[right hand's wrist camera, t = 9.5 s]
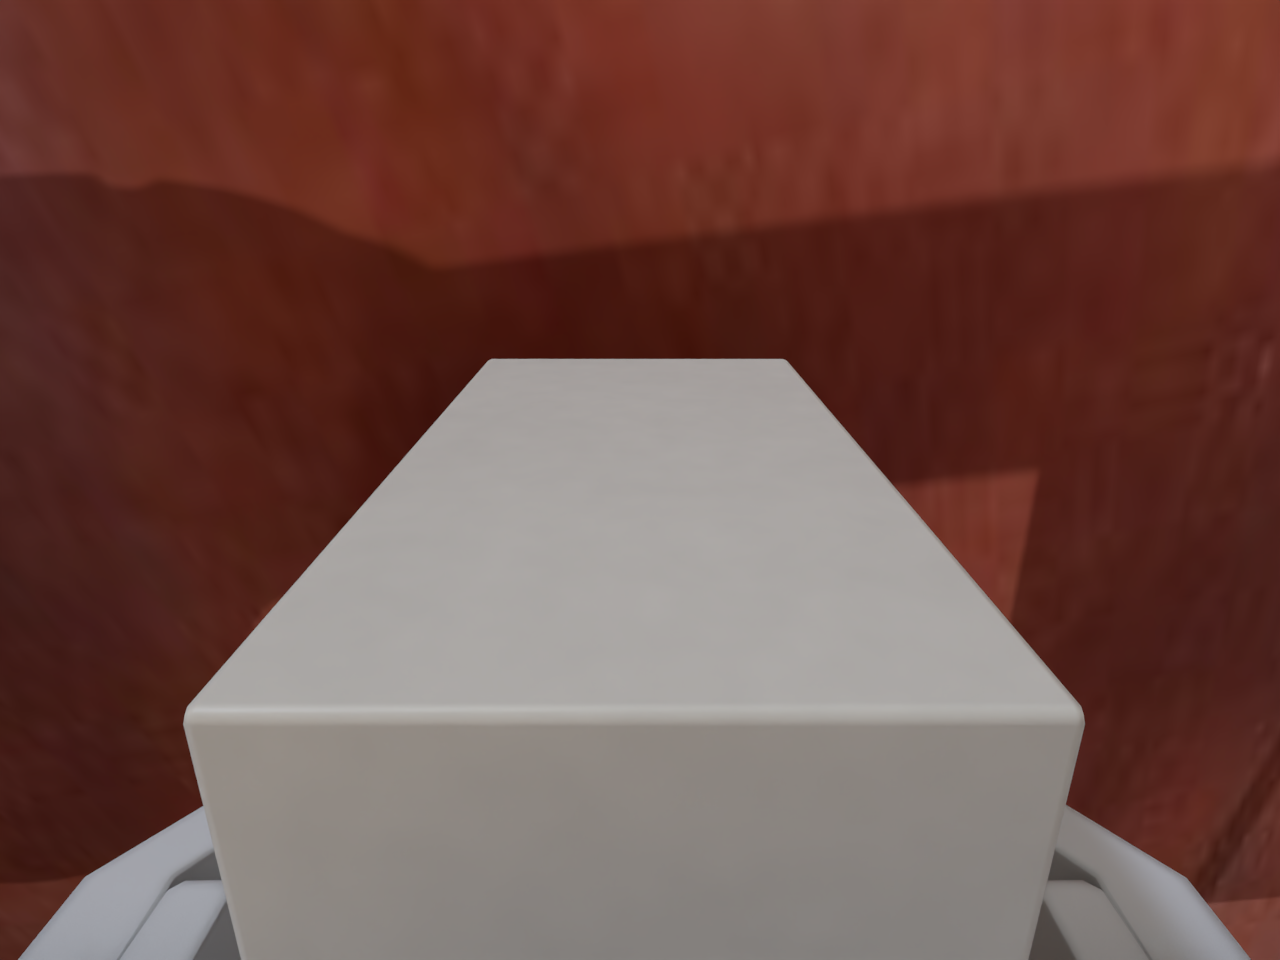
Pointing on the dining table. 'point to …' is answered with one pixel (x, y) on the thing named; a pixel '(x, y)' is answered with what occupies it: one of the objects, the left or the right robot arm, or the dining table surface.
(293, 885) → the bar
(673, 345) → the dining table surface
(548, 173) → the dining table surface
